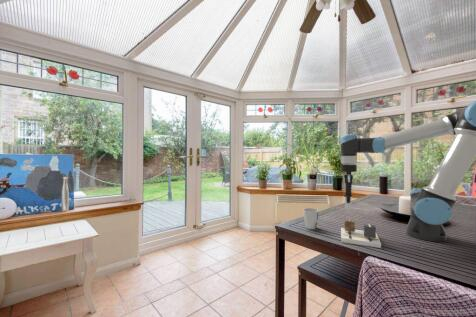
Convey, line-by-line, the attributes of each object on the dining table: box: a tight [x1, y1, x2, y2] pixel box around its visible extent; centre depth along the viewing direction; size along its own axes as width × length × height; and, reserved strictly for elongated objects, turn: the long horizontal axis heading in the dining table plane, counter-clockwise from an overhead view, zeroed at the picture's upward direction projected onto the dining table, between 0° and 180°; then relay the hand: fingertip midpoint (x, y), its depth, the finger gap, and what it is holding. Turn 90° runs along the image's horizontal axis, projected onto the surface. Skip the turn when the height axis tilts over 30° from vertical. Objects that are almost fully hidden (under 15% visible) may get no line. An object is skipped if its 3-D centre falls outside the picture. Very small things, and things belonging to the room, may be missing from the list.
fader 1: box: [344, 219, 356, 232], centre depth 106 cm, size 4×3×5 cm
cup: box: [302, 207, 319, 230], centre depth 119 cm, size 8×8×10 cm
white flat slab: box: [340, 227, 382, 249], centre depth 103 cm, size 16×15×2 cm
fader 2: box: [363, 223, 377, 238], centre depth 98 cm, size 4×3×5 cm
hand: (348, 208), depth 113 cm, fingers closed
